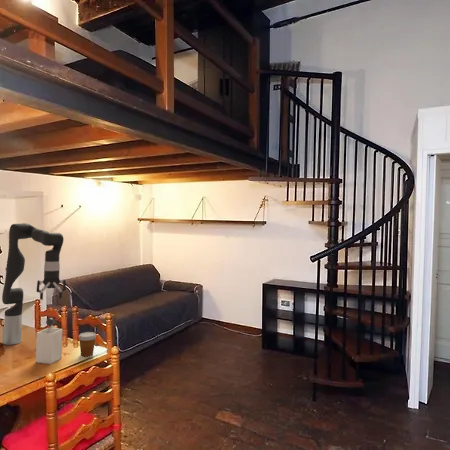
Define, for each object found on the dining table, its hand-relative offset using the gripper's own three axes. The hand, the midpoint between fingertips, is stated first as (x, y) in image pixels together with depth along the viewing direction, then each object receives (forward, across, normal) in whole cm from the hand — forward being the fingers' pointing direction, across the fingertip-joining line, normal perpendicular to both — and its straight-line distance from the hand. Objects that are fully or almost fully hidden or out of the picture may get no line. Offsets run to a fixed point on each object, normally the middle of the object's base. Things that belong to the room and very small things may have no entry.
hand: (51, 299), depth 193 cm
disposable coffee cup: (+34, +19, 0) cm, 39 cm away
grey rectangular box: (+33, +1, +1) cm, 33 cm away
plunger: (+28, 0, 0) cm, 28 cm away
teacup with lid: (+34, +1, +24) cm, 41 cm away
